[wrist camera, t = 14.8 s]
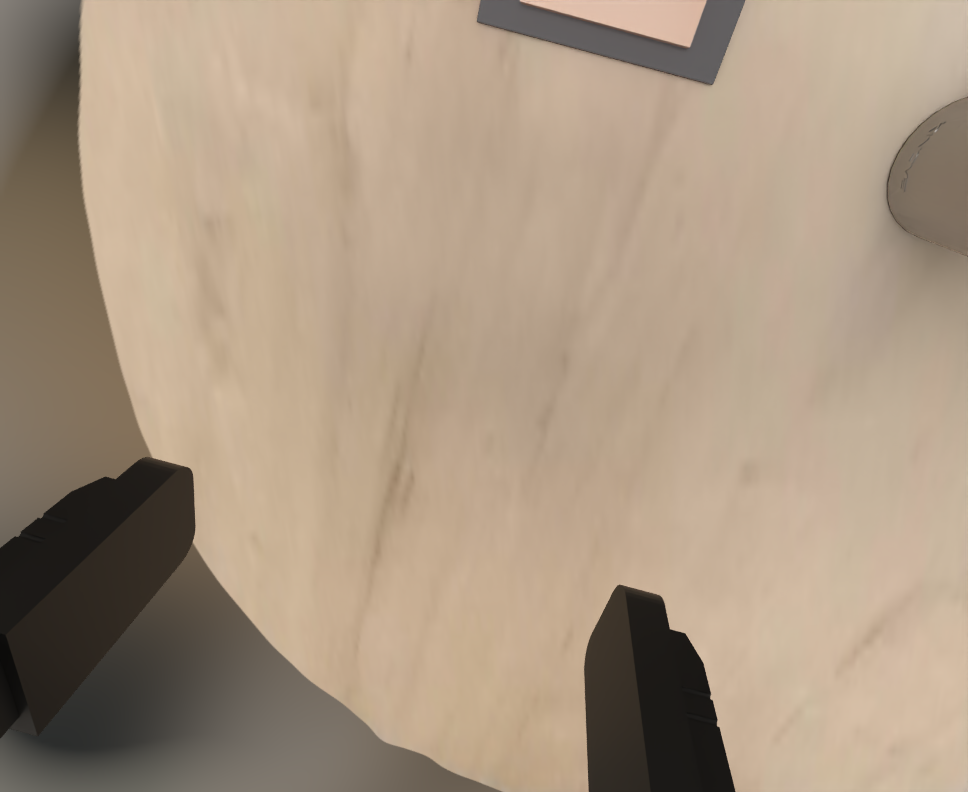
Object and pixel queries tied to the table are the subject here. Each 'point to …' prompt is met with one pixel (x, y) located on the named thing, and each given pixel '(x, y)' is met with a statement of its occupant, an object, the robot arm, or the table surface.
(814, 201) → the table surface
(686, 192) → the table surface
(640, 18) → the cover
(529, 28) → the mat
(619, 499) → the table surface
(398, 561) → the table surface
